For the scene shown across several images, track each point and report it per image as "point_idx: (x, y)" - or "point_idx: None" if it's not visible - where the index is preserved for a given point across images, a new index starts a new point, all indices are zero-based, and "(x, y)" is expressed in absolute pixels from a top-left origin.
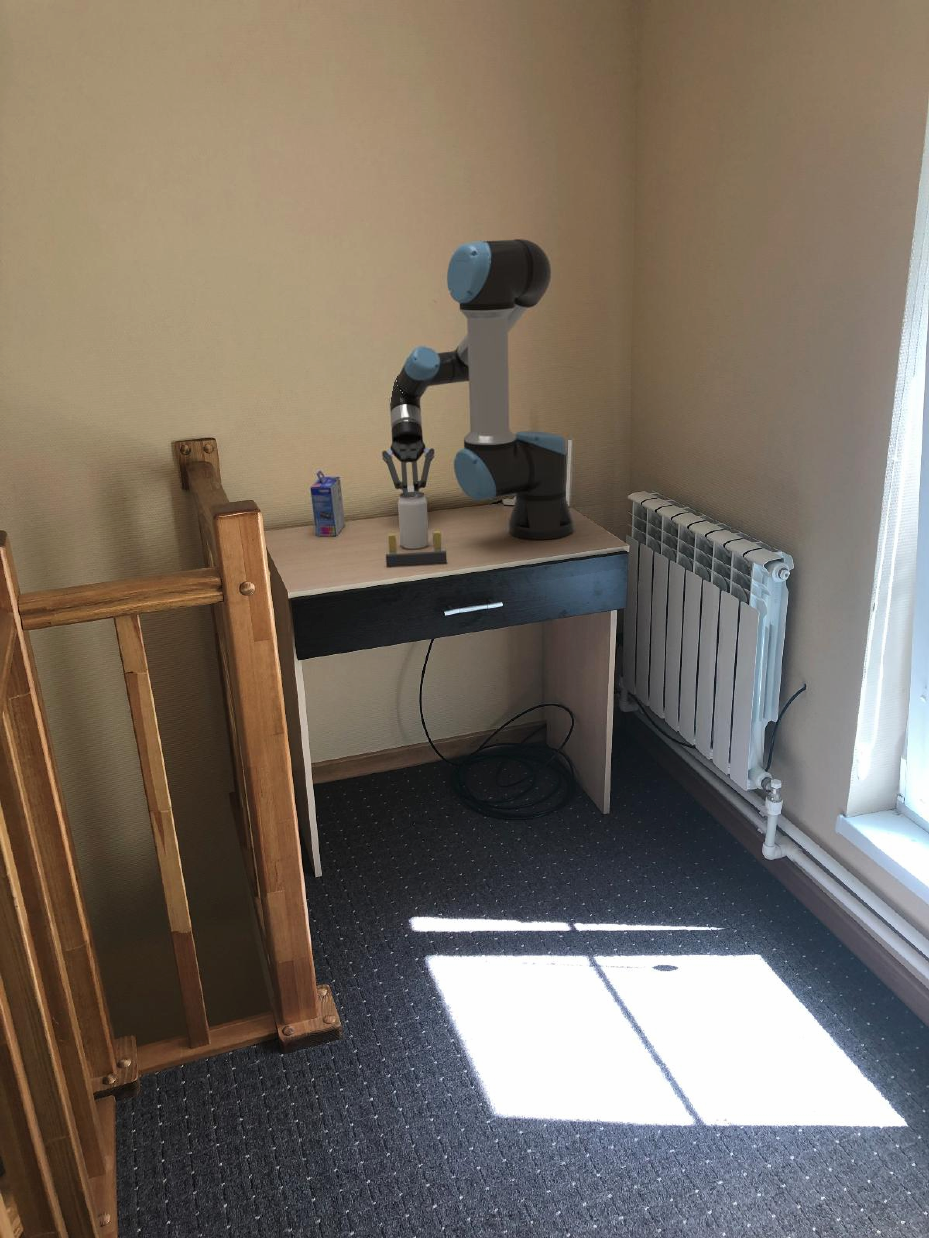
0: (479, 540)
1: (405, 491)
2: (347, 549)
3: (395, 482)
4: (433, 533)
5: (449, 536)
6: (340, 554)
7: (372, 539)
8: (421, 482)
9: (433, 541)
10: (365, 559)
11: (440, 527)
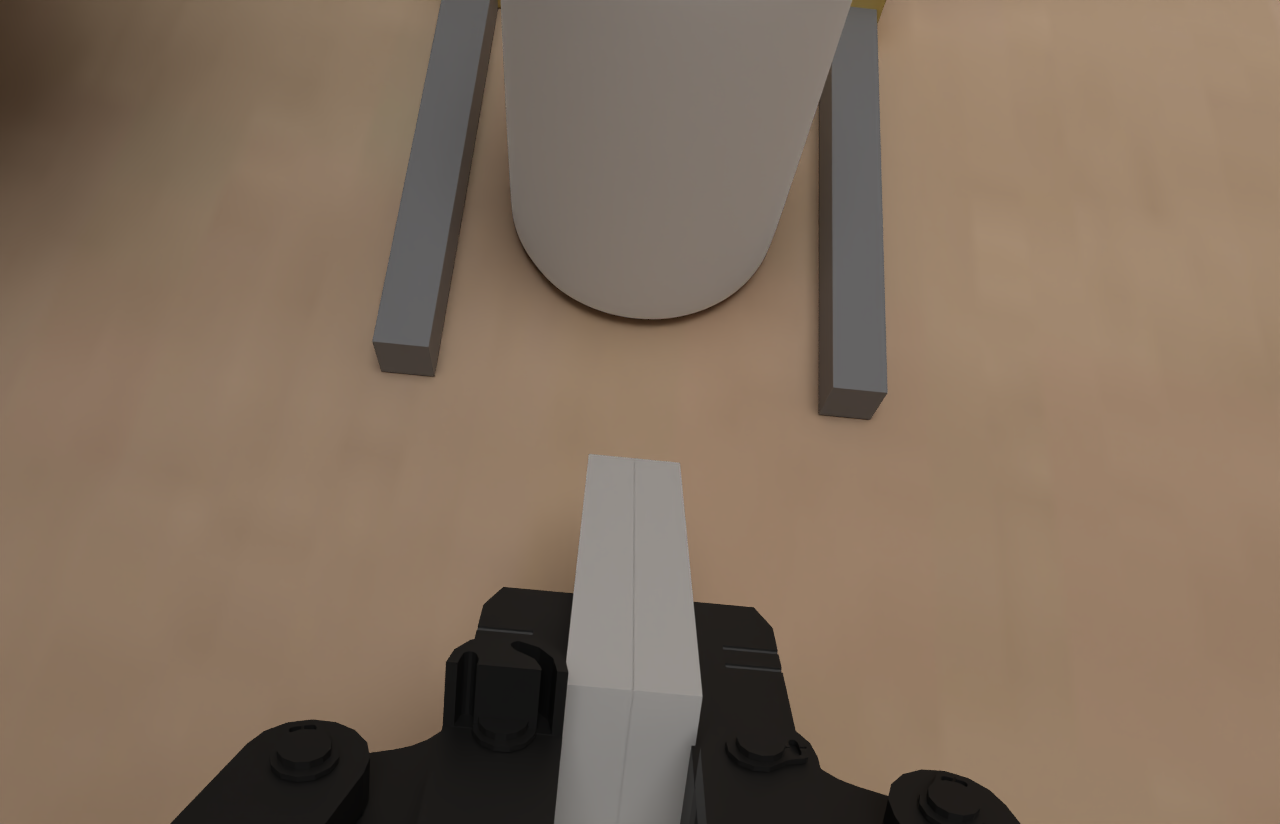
0: (12, 193)
1: (735, 688)
2: (1245, 280)
3: (989, 799)
4: (427, 307)
5: (253, 387)
6: (1277, 177)
7: (1050, 507)
8: (359, 752)
9: (454, 254)
10: (1053, 23)
11: None
